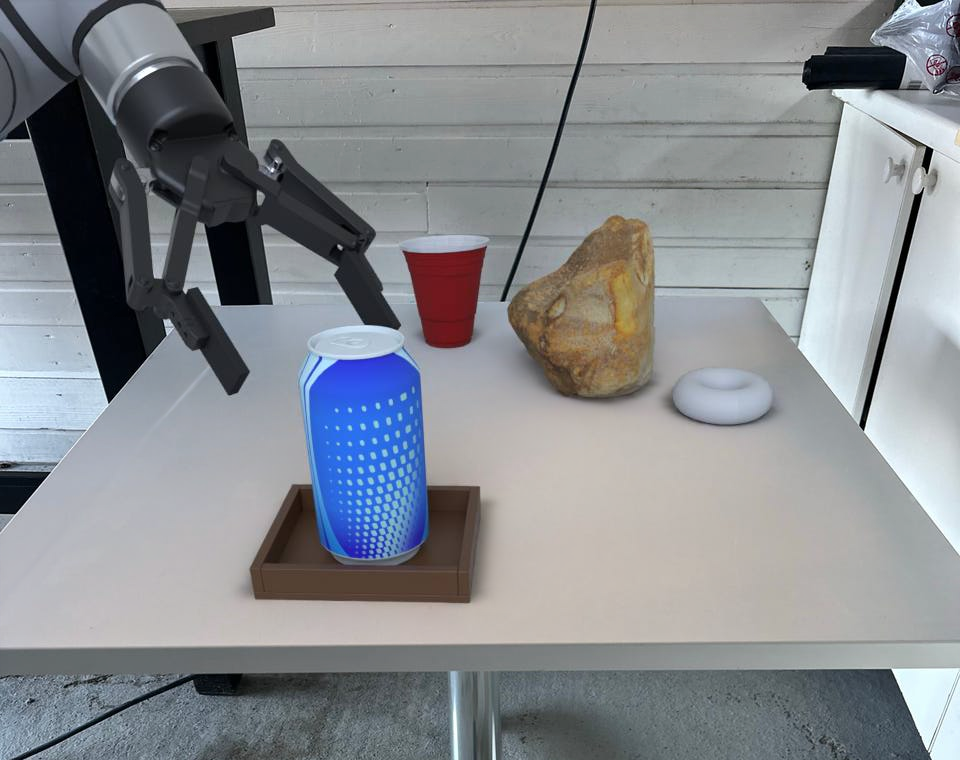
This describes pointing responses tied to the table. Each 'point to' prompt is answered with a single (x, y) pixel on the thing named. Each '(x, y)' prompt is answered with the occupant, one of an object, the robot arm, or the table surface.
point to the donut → (722, 395)
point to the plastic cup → (446, 284)
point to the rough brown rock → (594, 314)
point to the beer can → (365, 444)
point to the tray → (319, 576)
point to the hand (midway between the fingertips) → (319, 359)
